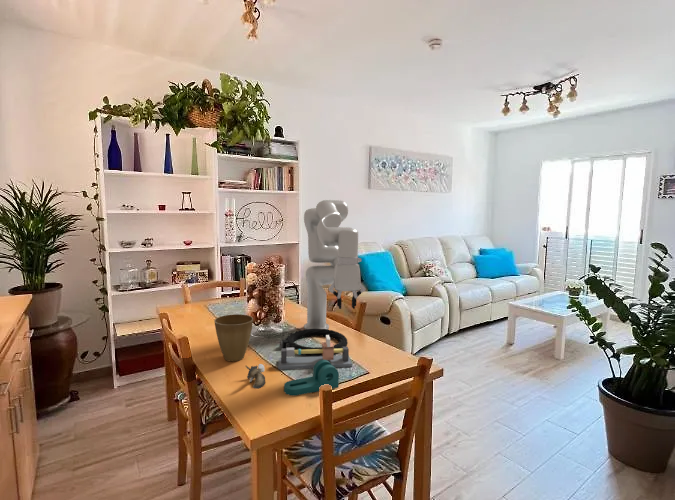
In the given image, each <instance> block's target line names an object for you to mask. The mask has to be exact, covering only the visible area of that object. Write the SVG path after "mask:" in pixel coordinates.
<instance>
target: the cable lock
mask: <svg viewBox="0 0 675 500" xmlns="http://www.w3.org/2000/svg"><path fill="white" fill-rule="evenodd" d="M326 335H329V337H330V339H333V340H337V341H338V342H337V343H336V344H333V346H334V349H340V348H342V347H348V339H347V338H346V336H345V335H344V334H343V333H341V332H339V331H335V330H332V329H304V328H303V329H300V330H297V331H294V332H292V333H289V334H288V336H287V337H285V338H284V339H281V340H280V341H279V348H280V350H281V348H294V350H298V349H301V350H306V349H322V346H321V347H319V346H318V347H312V346H311V347H310V346H303V345H300V344H297V343H296V342H295V341H297V340H299V339H302V338H306V337H307V338H308V337H324V338H326ZM334 355H336V353H334ZM301 356H305V357H319V356H322V353H315V354H301Z"/></svg>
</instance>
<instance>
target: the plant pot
mask: <svg viewBox="0 0 675 500" xmlns="http://www.w3.org/2000/svg"><path fill="white" fill-rule="evenodd" d="M213 320H214V327H215V332H216V336H217V341H218V345H219V347H220V350H221V353H222V356H223V358H224V360H225V361H227V362H238V361H241V360H243V359H244V357H245V355H246V352H247V349H248V346H249V343H250V338H251V334H252V331H253V330H252V329H253V324H254V317H253V316H251V315H248V314H243V313H242V314H241V313H239V314H235V313H234V314H233V313H232V314H225V315H221V316H218V317H216V318H215V319H213Z"/></svg>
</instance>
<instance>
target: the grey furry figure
mask: <svg viewBox="0 0 675 500" xmlns="http://www.w3.org/2000/svg"><path fill="white" fill-rule="evenodd" d="M245 368H246V369H247V370H248V372H247V375H246V379H247V380H248V383H249V384H250V383H252V381H253V380H254V383H253V385H252V388H254V389H255V390H256V389H261V388H263V387H264V386H265V385H266V376H265V375H264V374H263V373H264V372H265V365H264V364H262V363H259V364H258V365H251V367H249V366H247V365H245Z"/></svg>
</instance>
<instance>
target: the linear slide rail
mask: <svg viewBox="0 0 675 500" xmlns="http://www.w3.org/2000/svg"><path fill="white" fill-rule="evenodd" d="M280 350H281V351H280V357H279V358H278V370H295V369H298V370H301V369H302V368H303V369H313V368H314V366H315V364H316V363H317V362H318V361H320V360H323V357H322V356H302V355H301V354H315V353H323V349H306V350H301V349H298V350H294V348H281V349H280ZM349 351H350V349H349V347H348V346H346V347H342V348H340V349H334V353H335V354H338V353H339V354H341V355H334V360H327V361H329V362H330V363H331V364H332V366H334V367H335V368H344V367H345V368H352V367H353V363H352V361H351V358H350V355H349ZM295 355H301V356H295ZM303 369H302V370H303Z"/></svg>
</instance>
